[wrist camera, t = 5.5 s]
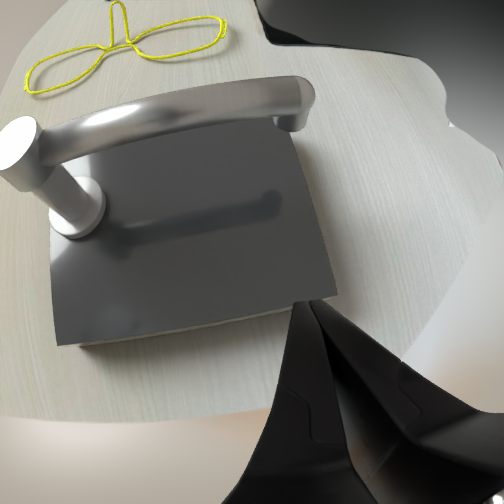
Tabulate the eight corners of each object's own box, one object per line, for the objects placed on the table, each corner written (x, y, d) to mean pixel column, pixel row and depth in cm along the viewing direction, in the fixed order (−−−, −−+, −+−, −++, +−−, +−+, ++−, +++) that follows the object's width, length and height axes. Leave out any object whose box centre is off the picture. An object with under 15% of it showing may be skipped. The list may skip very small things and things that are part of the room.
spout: (19, 206, 14) (-16, 178, 11) (26, 160, 15) (-4, 128, 11) (316, 141, 15) (332, 96, 12) (298, 97, 16) (308, 52, 13)
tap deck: (325, 301, 21) (376, 275, 13) (77, 346, 20) (1, 342, 11) (277, 133, 25) (291, 53, 17) (70, 177, 23) (19, 117, 15)
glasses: (20, 108, 26) (1, 82, 21) (39, 57, 28) (26, 34, 24) (232, 53, 28) (232, 17, 23) (222, 11, 30) (221, -19, 26)
